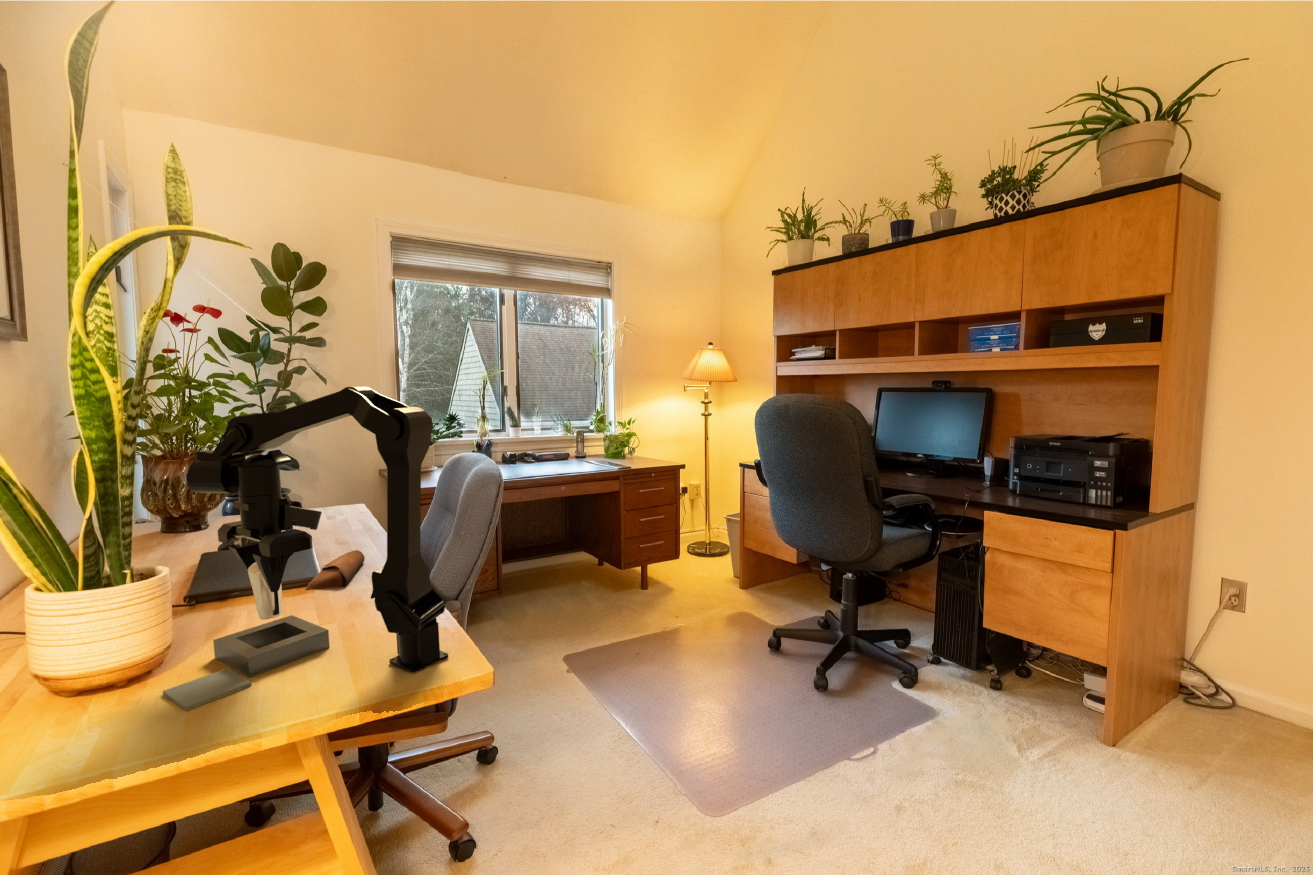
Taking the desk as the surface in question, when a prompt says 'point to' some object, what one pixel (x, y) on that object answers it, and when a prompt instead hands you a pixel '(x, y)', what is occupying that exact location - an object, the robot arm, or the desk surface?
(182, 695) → the pad
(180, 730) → the desk surface
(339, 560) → the sunglasses case
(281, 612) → the milkshake
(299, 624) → the collar
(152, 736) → the desk surface
